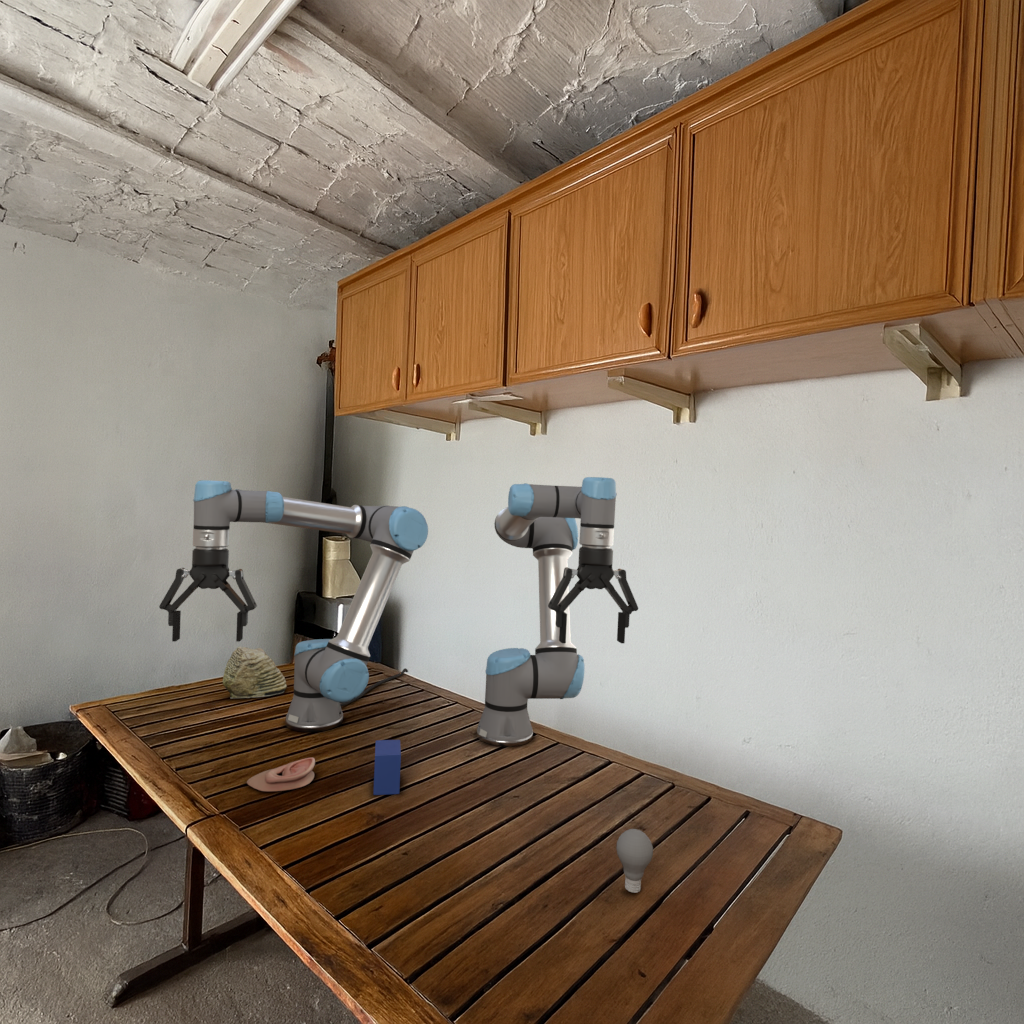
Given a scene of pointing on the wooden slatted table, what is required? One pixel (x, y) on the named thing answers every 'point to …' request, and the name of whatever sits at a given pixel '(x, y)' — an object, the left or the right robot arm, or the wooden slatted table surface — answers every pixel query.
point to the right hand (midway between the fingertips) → (591, 642)
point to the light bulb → (634, 857)
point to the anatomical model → (284, 776)
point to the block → (387, 767)
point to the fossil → (252, 674)
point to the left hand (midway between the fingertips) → (208, 640)
